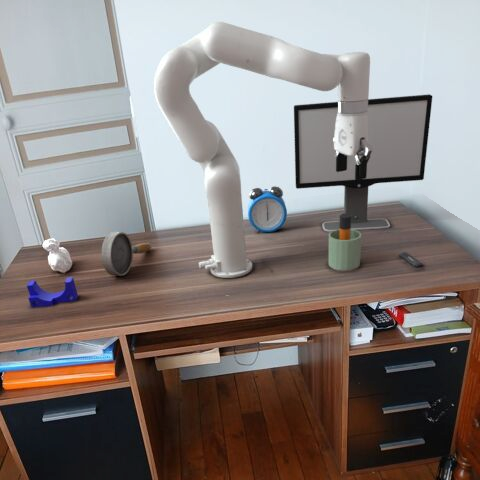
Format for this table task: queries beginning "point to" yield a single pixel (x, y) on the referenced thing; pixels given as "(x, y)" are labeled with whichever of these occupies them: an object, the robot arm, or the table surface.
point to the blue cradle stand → (51, 294)
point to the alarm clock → (267, 209)
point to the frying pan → (120, 253)
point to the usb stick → (411, 260)
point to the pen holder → (344, 250)
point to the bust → (57, 256)
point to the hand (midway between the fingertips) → (350, 174)
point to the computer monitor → (381, 159)
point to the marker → (344, 226)
